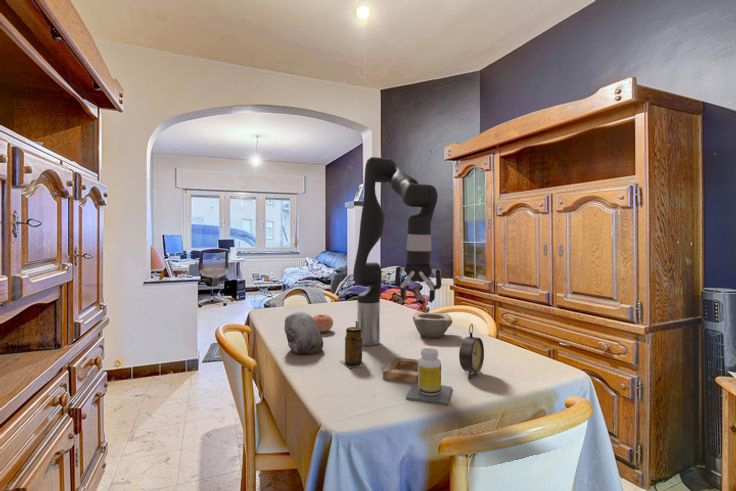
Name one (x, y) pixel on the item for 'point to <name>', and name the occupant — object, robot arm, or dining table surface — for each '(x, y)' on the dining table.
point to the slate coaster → (436, 399)
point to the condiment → (353, 348)
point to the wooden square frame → (399, 375)
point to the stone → (302, 334)
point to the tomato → (323, 322)
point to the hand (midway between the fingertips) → (417, 300)
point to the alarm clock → (471, 354)
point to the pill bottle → (429, 372)
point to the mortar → (432, 324)
